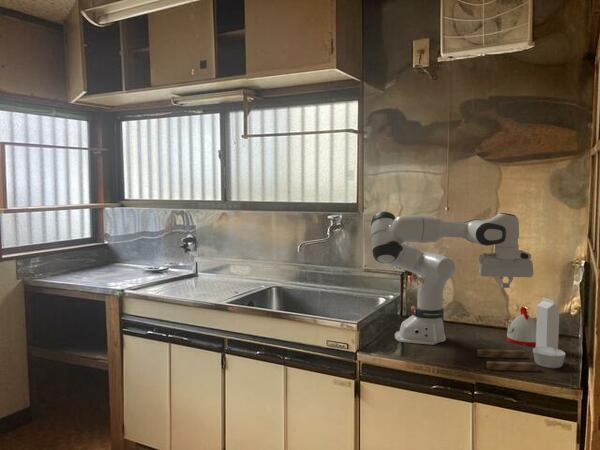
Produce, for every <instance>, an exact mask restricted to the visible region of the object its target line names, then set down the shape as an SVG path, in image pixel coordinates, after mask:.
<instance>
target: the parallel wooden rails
mask: <svg viewBox="0 0 600 450" xmlns="http://www.w3.org/2000/svg"><path fill="white" fill-rule="evenodd" d="M476 352H477V353H476V355H477V357H479V358H509V359H510V358H511V359H512V358H513V359H526V351H525V350H521V349H487V348H485V349H484V348H483V349H482V348H480V349H479V348H477V351H476ZM486 369H487V370H489V371H491V370H492V371H494V370H495V371H519V372H520V371H521V372H538V371H539V365H538V364H537V363H536V362H529V361H527V362H525V361H523V362H522V361H519V362H518V361H495V360H494V361H491V360H488V361H487V360H486Z"/></svg>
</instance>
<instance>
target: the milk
mask: <svg viewBox="0 0 600 450" xmlns="http://www.w3.org/2000/svg"><path fill="white" fill-rule="evenodd" d="M559 326H560V306H558V305H557V304H555V301H554V300H553V299H551V298H546V297H542V301H541V302H540V303H538V304H537V305H536V345H535V347H552V348H556V349H559V336H560V335H559V334H560V333H559V331H560V327H559Z"/></svg>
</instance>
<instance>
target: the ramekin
mask: <svg viewBox="0 0 600 450" xmlns="http://www.w3.org/2000/svg"><path fill="white" fill-rule="evenodd" d="M532 353H533V358H534V363H537V364H538V366H540V367H543V368H547V369H559V368H562V366H563V365H564V363H565V358H566V352H565V351H564V350H561V349H559V348H558V349H556V348H552V347H536V346H534V347H533V348H532Z"/></svg>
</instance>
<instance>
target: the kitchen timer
mask: <svg viewBox="0 0 600 450" xmlns="http://www.w3.org/2000/svg"><path fill="white" fill-rule="evenodd" d="M519 310H520V315H517V316H516V317H515V318H514V319H513V320H512V321H511V323H508V325H507V332H506V341H508V342H509V343H511V344H514V345H519V346H526V347H527V346H528V347H536V324H537V322H536V321H535V320H534V319H533V318H532V316H530V315H529V314H528V313H529V312H528V311H527V308H526V307H525V306H521V307H520V309H519Z"/></svg>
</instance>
